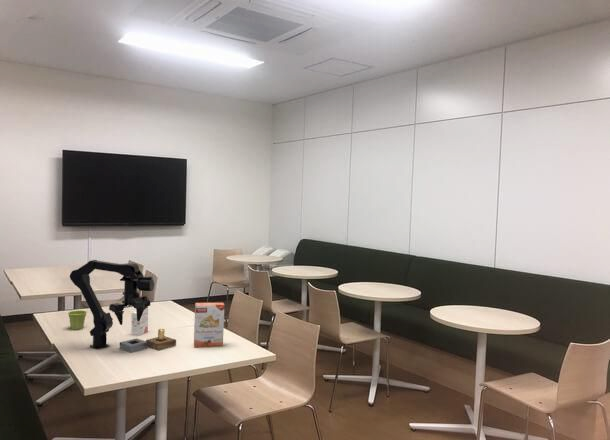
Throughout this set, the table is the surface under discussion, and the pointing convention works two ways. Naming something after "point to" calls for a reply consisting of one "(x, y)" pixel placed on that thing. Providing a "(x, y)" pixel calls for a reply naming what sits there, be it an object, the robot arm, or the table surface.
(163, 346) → the brown square frame
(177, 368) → the table surface
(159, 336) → the brass peg
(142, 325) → the ink cartridge box
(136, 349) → the socket block
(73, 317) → the plant pot
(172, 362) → the table surface
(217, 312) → the cracker box
